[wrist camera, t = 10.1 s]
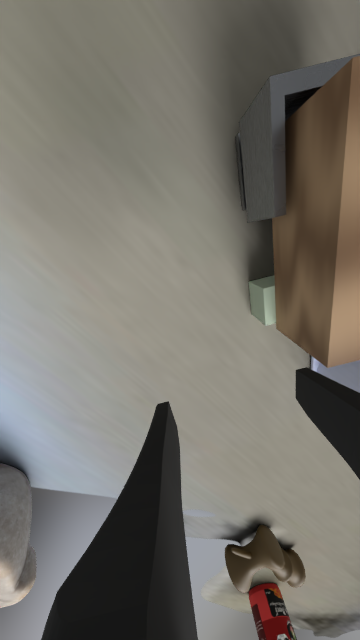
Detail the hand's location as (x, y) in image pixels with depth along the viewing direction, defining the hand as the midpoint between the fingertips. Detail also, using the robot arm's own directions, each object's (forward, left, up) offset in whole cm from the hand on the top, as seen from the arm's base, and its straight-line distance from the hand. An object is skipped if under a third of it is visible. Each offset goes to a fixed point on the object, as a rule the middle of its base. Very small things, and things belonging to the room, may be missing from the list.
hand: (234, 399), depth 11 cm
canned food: (-76, -2, -11) cm, 77 cm away
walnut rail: (+6, -8, -7) cm, 13 cm away
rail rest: (+2, -8, -10) cm, 13 cm away
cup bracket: (+12, -8, -10) cm, 17 cm away
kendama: (-50, -3, -11) cm, 51 cm away
